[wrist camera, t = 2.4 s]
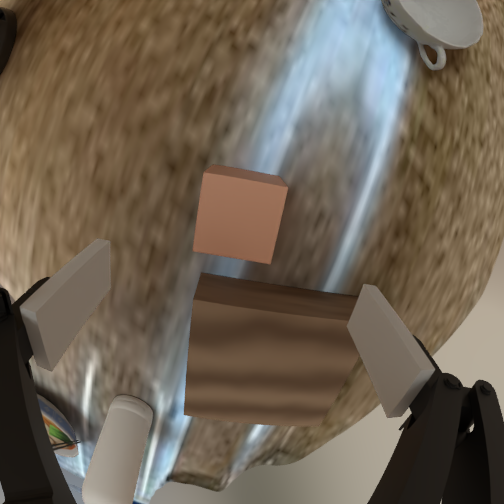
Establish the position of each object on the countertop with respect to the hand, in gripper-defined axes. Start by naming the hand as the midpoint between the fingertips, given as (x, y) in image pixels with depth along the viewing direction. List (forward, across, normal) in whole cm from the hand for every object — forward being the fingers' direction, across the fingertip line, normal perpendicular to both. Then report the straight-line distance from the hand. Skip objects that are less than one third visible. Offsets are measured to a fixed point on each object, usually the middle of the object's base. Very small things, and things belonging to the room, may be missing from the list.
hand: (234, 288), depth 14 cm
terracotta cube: (+18, 0, 0) cm, 18 cm away
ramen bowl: (+18, -36, -50) cm, 65 cm away
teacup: (+18, +15, +27) cm, 36 cm away
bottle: (+18, -13, -39) cm, 45 cm away
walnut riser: (+18, +7, -19) cm, 27 cm away
